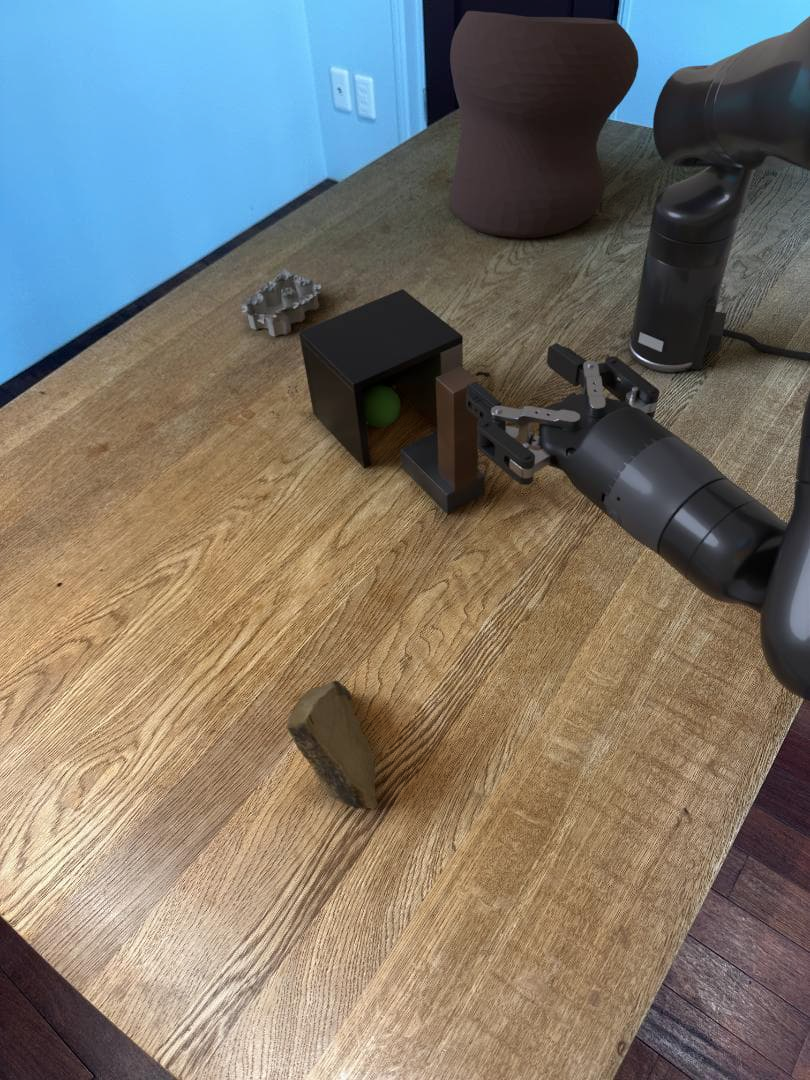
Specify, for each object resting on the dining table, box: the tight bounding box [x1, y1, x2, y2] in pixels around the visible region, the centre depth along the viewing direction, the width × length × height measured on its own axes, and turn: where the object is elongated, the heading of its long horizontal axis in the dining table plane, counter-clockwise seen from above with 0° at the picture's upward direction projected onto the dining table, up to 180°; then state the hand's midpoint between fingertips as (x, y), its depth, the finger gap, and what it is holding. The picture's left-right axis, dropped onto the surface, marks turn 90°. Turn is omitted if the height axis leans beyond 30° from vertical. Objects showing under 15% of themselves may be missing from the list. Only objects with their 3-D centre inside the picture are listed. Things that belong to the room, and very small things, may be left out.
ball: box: [363, 384, 401, 428], centre depth 96 cm, size 5×5×5 cm
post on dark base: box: [400, 366, 486, 515], centre depth 85 cm, size 9×5×16 cm, turn 33°
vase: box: [448, 10, 639, 239], centre depth 121 cm, size 27×27×30 cm
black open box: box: [298, 288, 464, 469], centre depth 94 cm, size 12×14×12 cm
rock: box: [286, 680, 378, 810], centre depth 68 cm, size 11×9×10 cm
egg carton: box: [240, 268, 323, 338], centre depth 113 cm, size 11×8×4 cm
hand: (510, 372), depth 68 cm, fingers open, 8 cm apart
